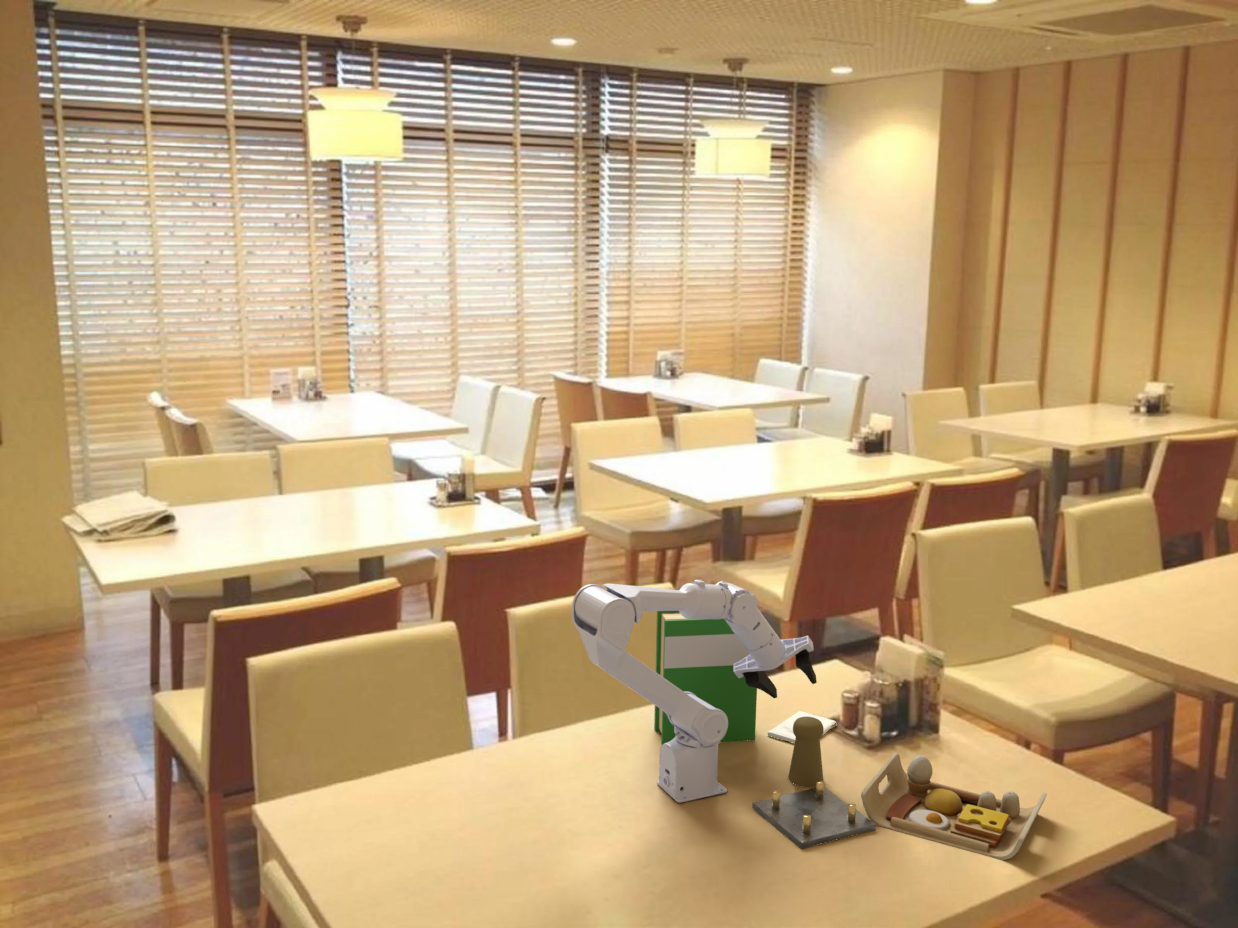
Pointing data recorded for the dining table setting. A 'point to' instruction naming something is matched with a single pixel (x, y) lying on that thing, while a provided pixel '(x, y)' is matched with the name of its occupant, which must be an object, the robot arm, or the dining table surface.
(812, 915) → the dining table surface
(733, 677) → the hardback book
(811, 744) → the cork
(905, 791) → the toy food set
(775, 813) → the chassis plate
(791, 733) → the external hard drive
